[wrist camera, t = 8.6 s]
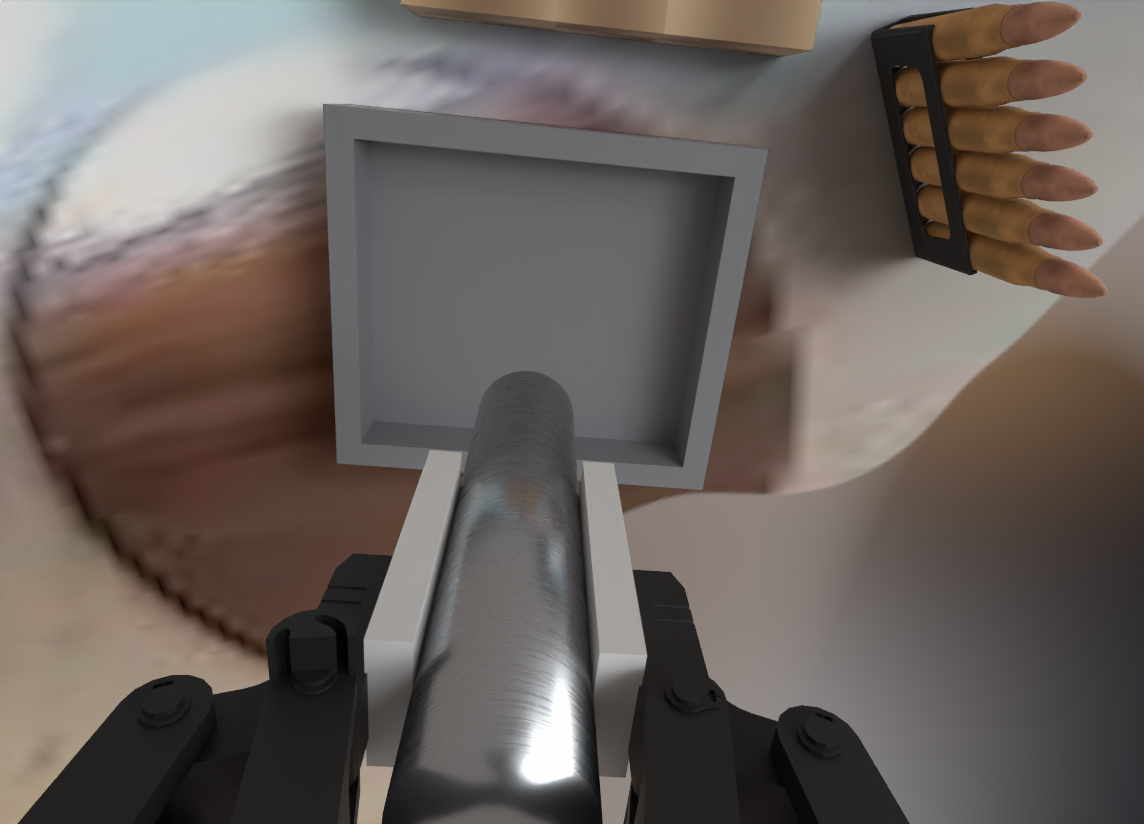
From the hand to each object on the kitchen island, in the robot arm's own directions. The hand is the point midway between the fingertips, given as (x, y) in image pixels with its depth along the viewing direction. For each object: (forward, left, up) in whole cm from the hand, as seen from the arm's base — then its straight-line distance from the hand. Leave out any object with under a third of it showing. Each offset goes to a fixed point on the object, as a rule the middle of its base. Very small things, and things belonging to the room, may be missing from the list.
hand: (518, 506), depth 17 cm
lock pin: (0, 0, -6) cm, 6 cm away
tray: (0, 0, -20) cm, 20 cm away
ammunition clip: (-17, -9, -20) cm, 28 cm away
